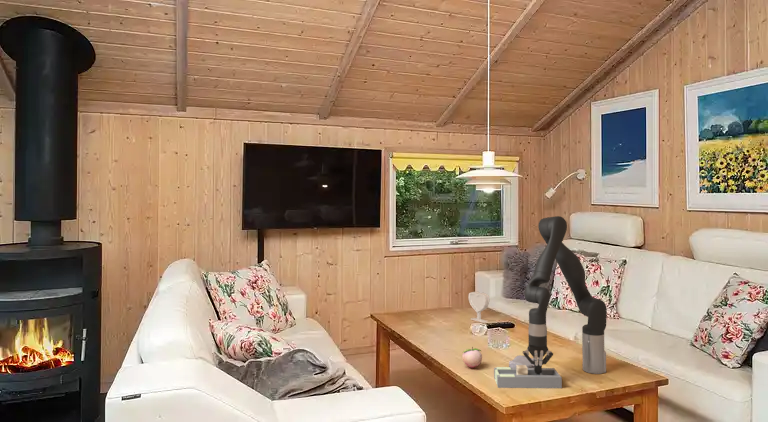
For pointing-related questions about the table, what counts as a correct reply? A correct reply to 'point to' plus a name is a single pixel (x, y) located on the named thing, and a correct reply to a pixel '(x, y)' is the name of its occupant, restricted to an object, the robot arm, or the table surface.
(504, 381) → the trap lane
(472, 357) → the decorative fruit
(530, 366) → the stone block
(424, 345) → the table surface
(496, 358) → the table surface
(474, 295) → the heart sculpture
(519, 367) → the cube
